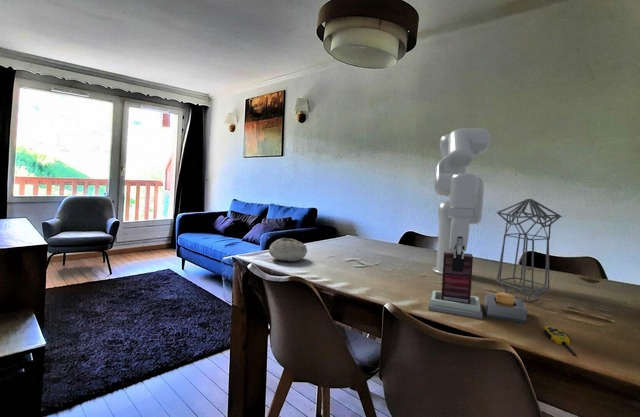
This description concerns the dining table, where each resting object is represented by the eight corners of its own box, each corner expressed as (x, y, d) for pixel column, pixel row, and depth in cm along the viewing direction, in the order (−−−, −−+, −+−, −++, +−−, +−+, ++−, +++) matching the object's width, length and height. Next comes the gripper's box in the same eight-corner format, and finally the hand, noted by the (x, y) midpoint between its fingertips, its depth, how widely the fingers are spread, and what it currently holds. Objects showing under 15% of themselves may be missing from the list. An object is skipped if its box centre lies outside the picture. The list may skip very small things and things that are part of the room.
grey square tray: (431, 296, 119) (431, 288, 118) (479, 303, 113) (479, 295, 113) (428, 310, 106) (429, 301, 105) (482, 318, 100) (482, 309, 100)
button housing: (484, 306, 111) (485, 294, 111) (519, 311, 107) (520, 299, 107) (487, 317, 102) (488, 304, 101) (525, 323, 98) (527, 310, 98)
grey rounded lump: (308, 257, 171) (309, 237, 170) (303, 266, 154) (304, 243, 153) (273, 255, 173) (274, 235, 172) (264, 263, 155) (265, 241, 154)
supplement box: (469, 302, 111) (472, 253, 109) (469, 307, 106) (473, 256, 105) (440, 298, 114) (443, 250, 112) (440, 302, 109) (443, 253, 108)
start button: (494, 300, 107) (495, 291, 107) (512, 303, 106) (513, 294, 105) (496, 306, 103) (497, 296, 103) (515, 309, 101) (516, 299, 101)
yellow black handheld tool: (560, 326, 94) (587, 351, 79) (559, 333, 94) (586, 359, 79) (540, 323, 95) (563, 348, 80) (539, 330, 95) (562, 356, 81)
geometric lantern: (529, 307, 111) (539, 200, 108) (486, 292, 125) (494, 197, 122) (557, 301, 119) (567, 200, 116) (513, 287, 132) (521, 197, 130)
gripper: (449, 210, 116) (445, 260, 118) (448, 214, 100) (444, 272, 102) (473, 212, 114) (469, 263, 115) (476, 216, 98) (471, 276, 99)
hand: (457, 267), depth 108 cm, fingers open, 9 cm apart
